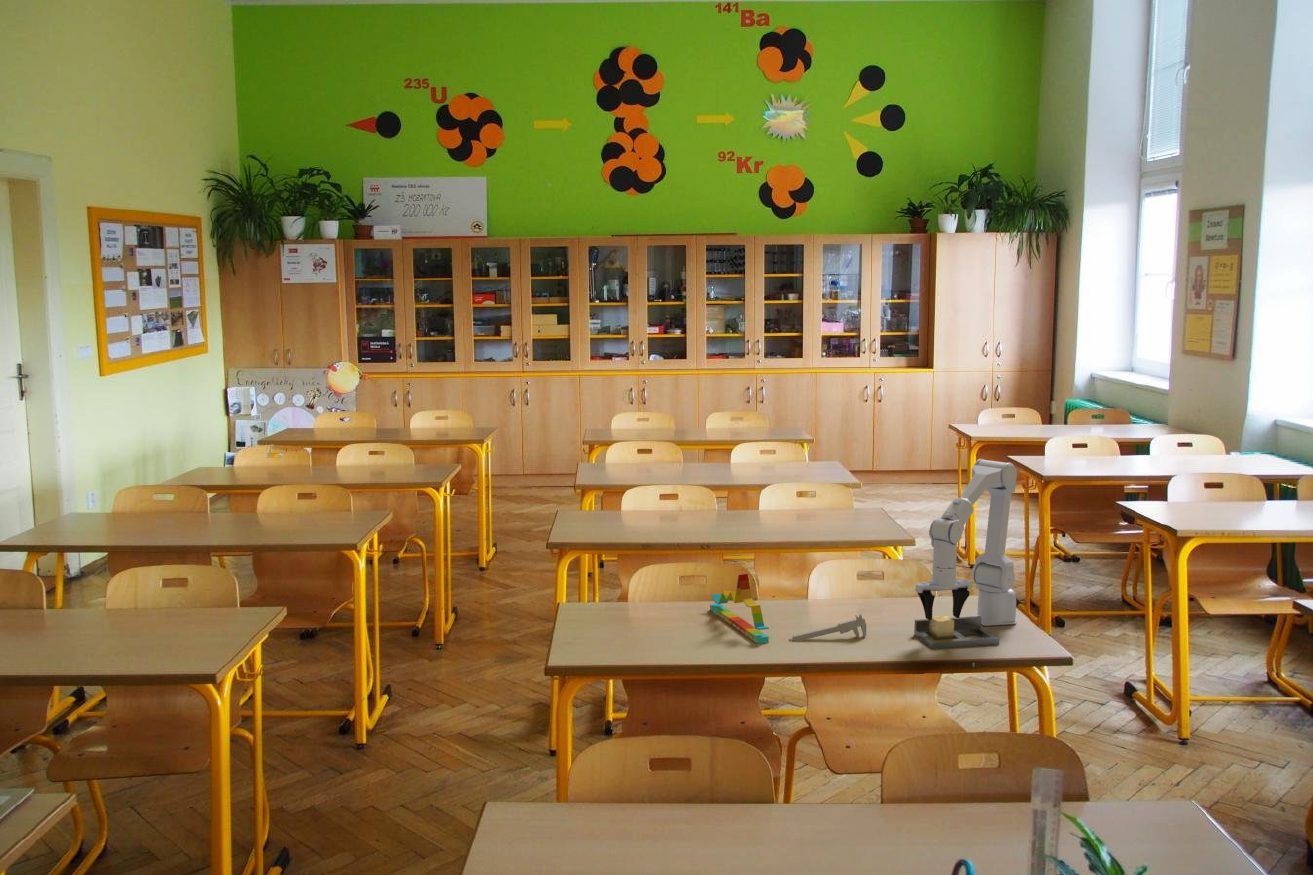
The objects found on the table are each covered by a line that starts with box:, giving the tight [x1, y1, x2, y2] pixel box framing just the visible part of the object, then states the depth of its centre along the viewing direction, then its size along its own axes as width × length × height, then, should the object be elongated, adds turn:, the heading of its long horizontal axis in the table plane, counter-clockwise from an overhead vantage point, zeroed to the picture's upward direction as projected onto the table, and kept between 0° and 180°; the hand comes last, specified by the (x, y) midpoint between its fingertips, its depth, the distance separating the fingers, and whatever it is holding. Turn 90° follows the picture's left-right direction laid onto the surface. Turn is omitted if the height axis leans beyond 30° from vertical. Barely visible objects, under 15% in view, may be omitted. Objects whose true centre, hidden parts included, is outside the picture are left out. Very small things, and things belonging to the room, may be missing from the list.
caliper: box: [788, 613, 867, 642], centre depth 281 cm, size 21×1×6 cm, turn 99°
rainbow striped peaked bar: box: [709, 573, 770, 645], centre depth 291 cm, size 30×3×15 cm, turn 21°
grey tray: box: [913, 616, 1000, 650], centre depth 281 cm, size 18×11×4 cm, turn 100°
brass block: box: [929, 614, 954, 640], centre depth 280 cm, size 4×4×6 cm
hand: (942, 617), depth 279 cm, fingers open, 7 cm apart
